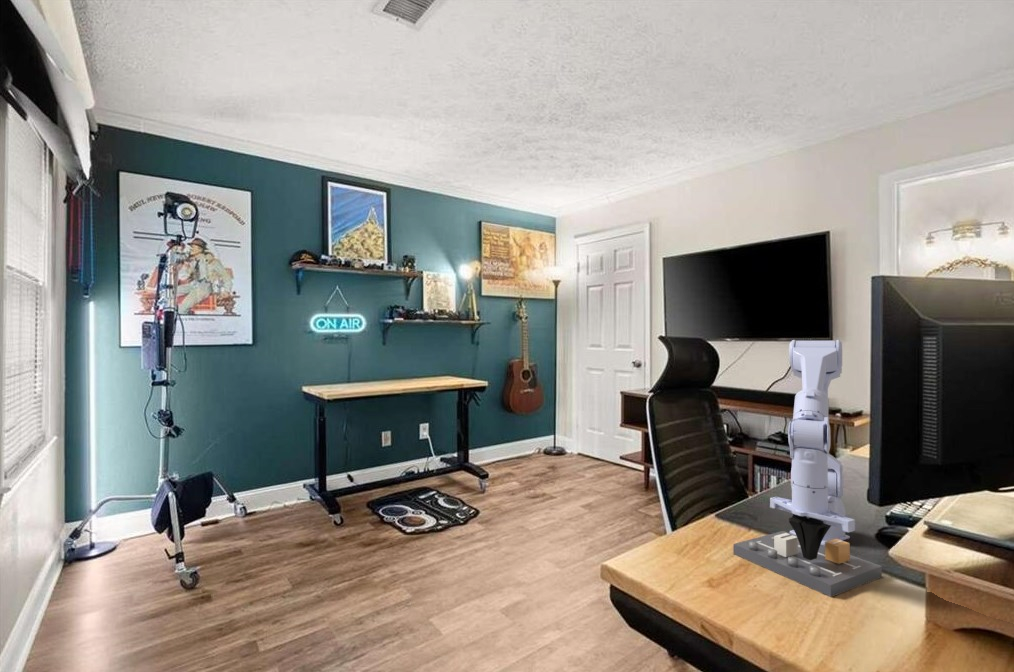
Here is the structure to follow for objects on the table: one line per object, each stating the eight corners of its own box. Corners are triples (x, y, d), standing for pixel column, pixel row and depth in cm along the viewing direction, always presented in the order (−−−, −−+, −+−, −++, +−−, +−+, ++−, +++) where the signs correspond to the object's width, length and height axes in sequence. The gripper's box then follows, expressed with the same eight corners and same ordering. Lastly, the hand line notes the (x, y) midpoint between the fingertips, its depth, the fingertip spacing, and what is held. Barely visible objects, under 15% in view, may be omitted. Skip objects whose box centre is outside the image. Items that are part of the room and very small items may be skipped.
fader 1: (785, 549, 97) (785, 532, 97) (797, 553, 94) (797, 536, 95) (774, 552, 95) (774, 535, 95) (786, 557, 93) (786, 539, 93)
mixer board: (783, 539, 107) (783, 525, 107) (882, 577, 90) (881, 559, 90) (733, 553, 99) (733, 538, 100) (830, 597, 83) (830, 577, 83)
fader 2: (836, 555, 94) (836, 538, 94) (849, 560, 92) (849, 542, 92) (825, 558, 92) (825, 541, 92) (838, 564, 90) (838, 546, 90)
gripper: (759, 477, 96) (760, 547, 95) (838, 498, 83) (838, 579, 82) (782, 473, 99) (783, 540, 99) (861, 492, 86) (862, 570, 86)
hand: (809, 557), depth 91 cm, fingers closed
